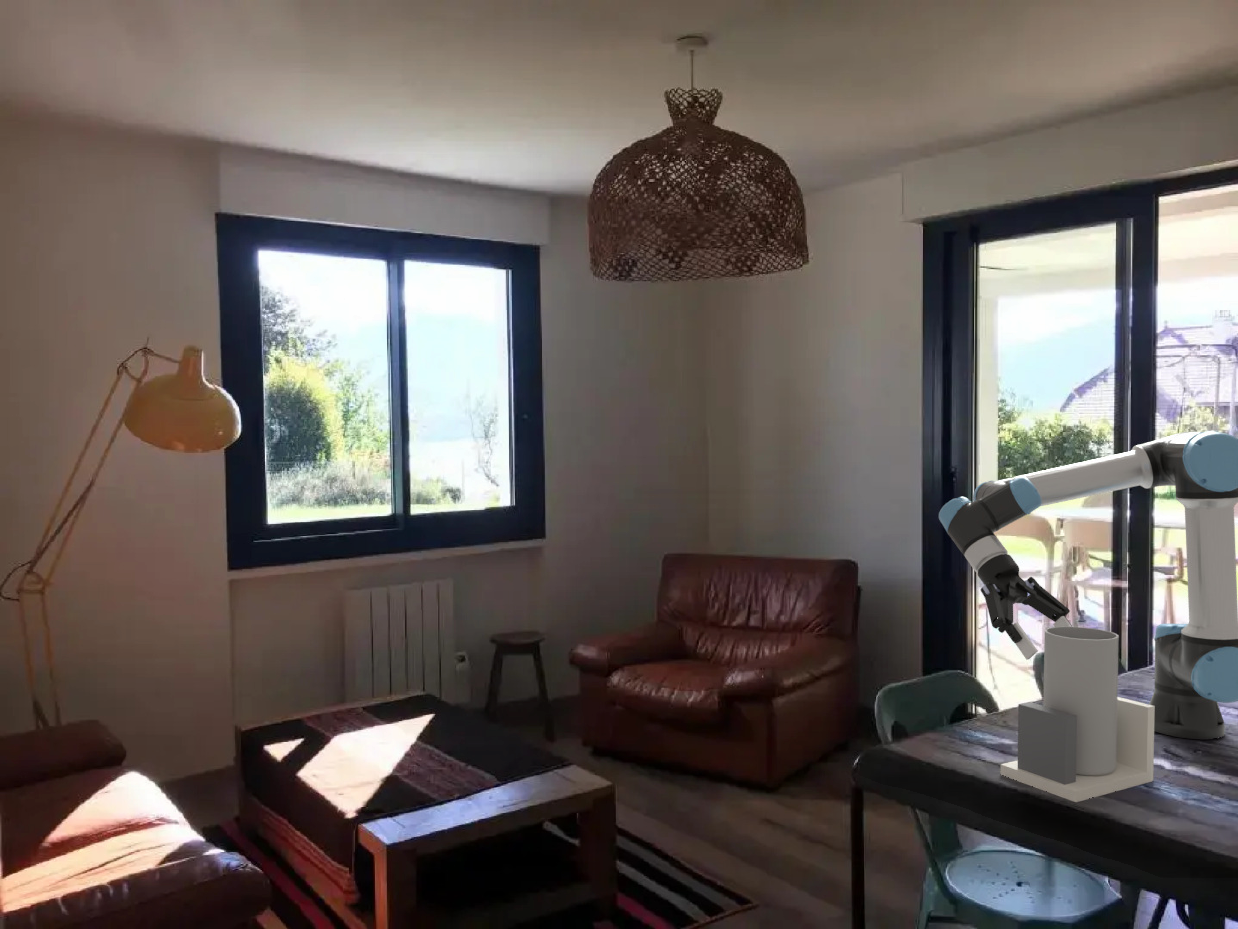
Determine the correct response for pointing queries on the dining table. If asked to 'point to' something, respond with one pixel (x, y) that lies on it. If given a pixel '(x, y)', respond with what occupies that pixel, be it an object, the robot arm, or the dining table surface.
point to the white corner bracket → (1054, 751)
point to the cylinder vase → (1085, 691)
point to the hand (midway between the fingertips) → (1056, 651)
